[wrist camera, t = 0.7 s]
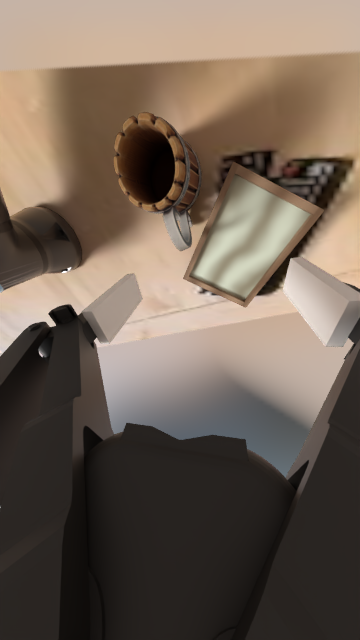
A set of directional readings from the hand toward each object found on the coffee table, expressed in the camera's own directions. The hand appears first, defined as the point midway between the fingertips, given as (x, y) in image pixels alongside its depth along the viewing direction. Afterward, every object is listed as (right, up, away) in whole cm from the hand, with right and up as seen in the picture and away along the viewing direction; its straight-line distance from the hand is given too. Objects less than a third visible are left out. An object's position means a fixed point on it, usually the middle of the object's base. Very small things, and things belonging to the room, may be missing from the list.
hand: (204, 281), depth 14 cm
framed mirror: (+10, +13, +20) cm, 26 cm away
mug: (-2, +21, +17) cm, 27 cm away
